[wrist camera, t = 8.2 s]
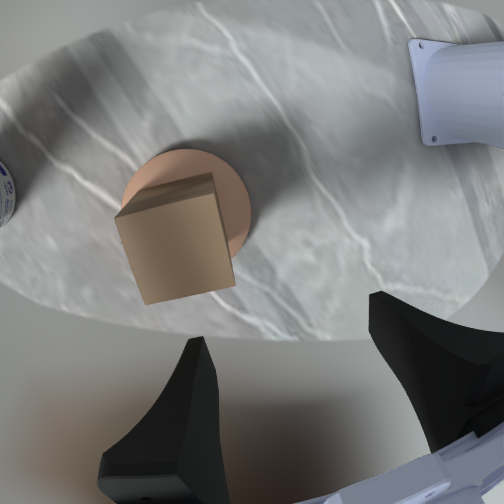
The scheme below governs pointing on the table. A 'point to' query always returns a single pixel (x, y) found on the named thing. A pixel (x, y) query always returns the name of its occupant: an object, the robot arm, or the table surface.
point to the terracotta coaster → (193, 164)
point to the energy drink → (6, 195)
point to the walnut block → (176, 239)
